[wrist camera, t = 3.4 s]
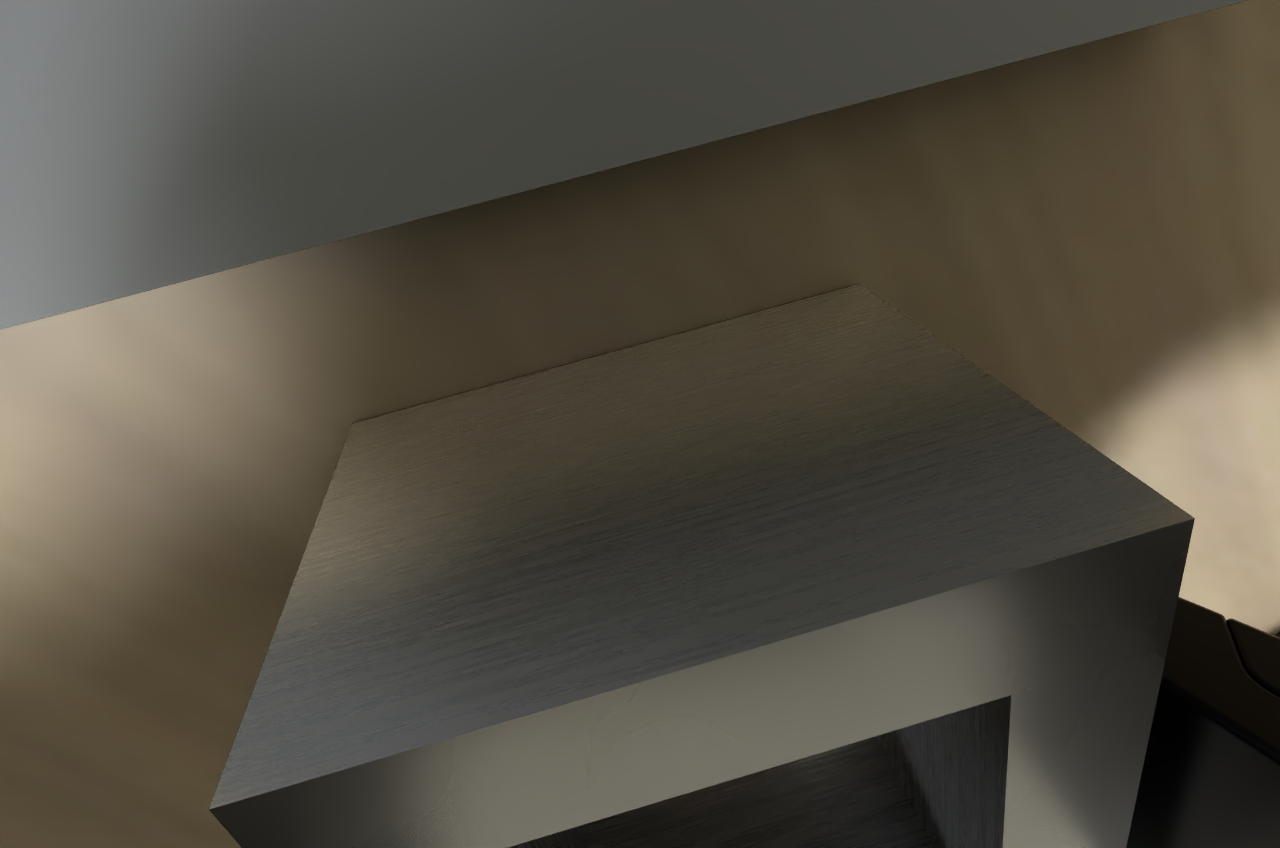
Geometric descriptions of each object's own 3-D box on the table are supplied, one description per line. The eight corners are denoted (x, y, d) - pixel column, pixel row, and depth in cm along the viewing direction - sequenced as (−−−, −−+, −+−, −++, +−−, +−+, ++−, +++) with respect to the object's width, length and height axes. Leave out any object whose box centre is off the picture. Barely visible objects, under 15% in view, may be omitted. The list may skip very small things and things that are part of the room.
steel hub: (884, 643, 12) (1097, 981, 8) (512, 753, 12) (521, 1166, 8) (859, 283, 9) (1196, 519, 5) (352, 423, 9) (208, 808, 4)
